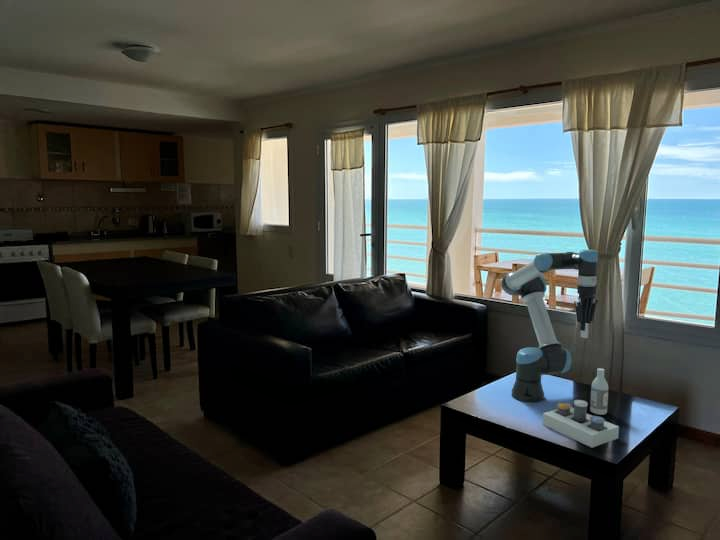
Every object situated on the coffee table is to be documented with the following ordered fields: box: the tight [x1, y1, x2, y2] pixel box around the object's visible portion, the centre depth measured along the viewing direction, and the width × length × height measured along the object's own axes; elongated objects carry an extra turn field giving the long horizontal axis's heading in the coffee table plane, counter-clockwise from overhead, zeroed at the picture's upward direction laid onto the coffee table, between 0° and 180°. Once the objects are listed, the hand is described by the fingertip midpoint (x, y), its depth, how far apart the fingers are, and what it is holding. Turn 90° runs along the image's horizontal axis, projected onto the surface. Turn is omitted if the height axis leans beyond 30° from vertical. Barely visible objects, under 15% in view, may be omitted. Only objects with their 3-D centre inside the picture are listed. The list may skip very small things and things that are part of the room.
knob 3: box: [590, 415, 606, 431], centre depth 204 cm, size 5×5×8 cm
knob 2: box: [573, 399, 589, 423], centre depth 211 cm, size 5×5×8 cm
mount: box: [542, 406, 620, 448], centre depth 211 cm, size 24×16×5 cm, turn 29°
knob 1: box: [557, 402, 572, 417], centre depth 218 cm, size 5×5×8 cm
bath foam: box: [589, 367, 609, 415], centre depth 230 cm, size 7×7×20 cm
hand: (584, 337), depth 228 cm, fingers closed
